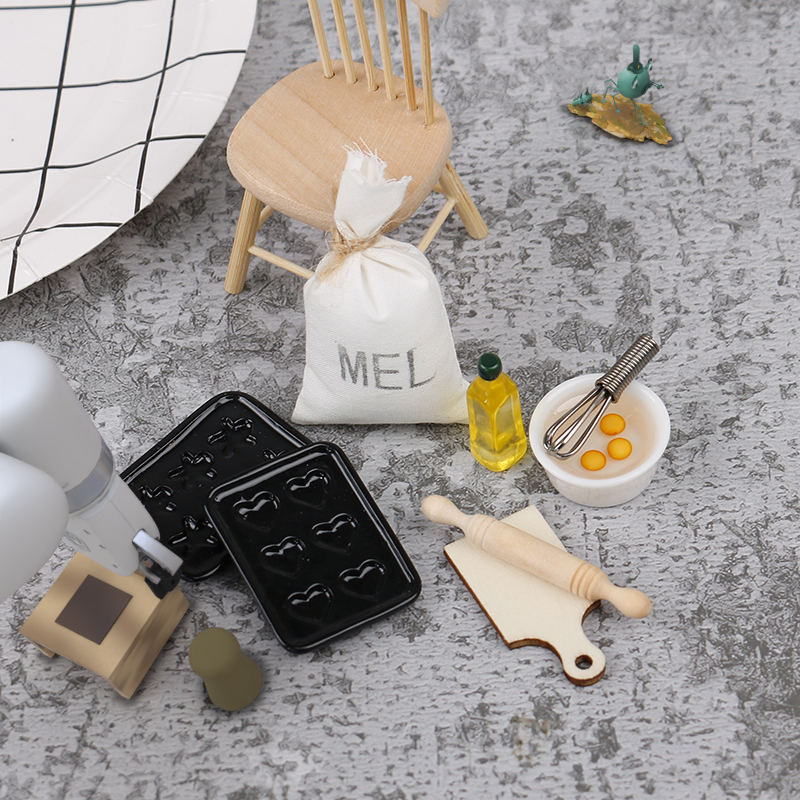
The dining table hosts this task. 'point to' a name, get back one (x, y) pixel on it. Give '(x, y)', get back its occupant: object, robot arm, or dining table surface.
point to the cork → (224, 669)
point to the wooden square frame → (105, 622)
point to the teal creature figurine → (625, 105)
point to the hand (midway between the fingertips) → (129, 561)
